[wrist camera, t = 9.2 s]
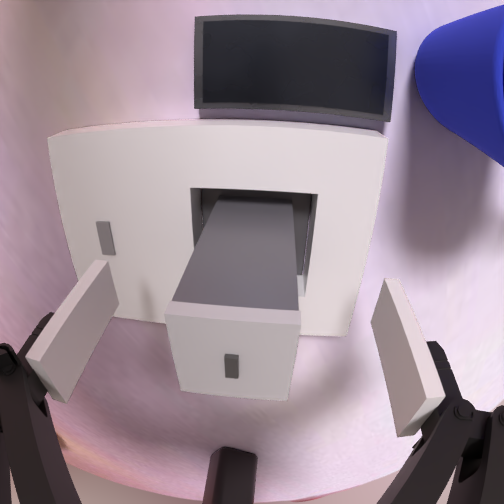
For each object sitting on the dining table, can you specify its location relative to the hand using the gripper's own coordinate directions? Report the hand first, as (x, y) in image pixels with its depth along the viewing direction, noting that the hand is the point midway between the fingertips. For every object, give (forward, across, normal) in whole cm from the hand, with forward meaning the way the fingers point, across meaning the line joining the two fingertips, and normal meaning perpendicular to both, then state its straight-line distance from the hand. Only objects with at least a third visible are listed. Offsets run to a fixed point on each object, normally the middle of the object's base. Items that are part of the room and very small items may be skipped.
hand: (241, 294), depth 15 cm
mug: (+8, +14, +11) cm, 19 cm away
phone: (+7, +2, +10) cm, 13 cm away
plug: (+7, 0, 0) cm, 7 cm away
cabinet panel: (+7, -3, 0) cm, 8 cm away
